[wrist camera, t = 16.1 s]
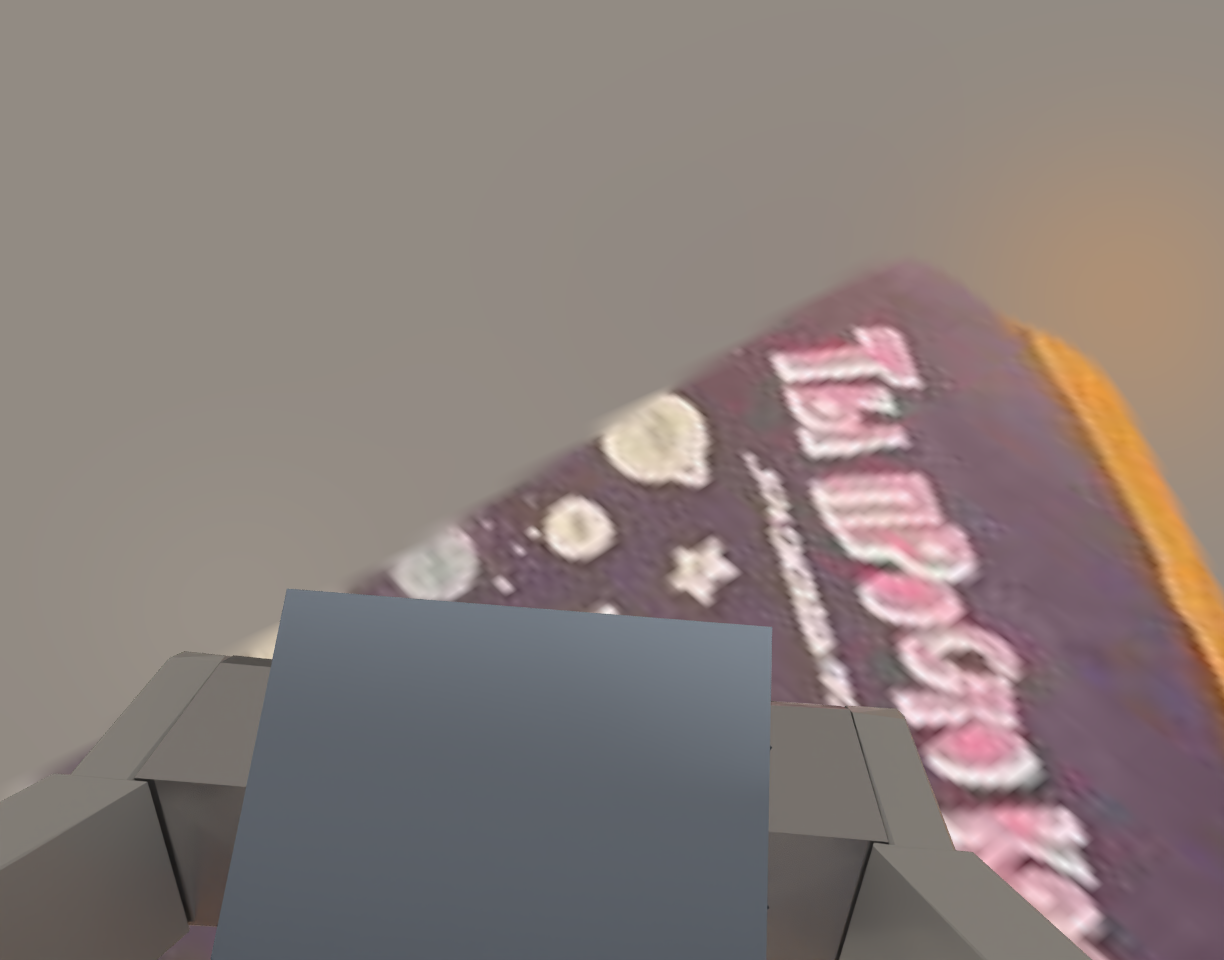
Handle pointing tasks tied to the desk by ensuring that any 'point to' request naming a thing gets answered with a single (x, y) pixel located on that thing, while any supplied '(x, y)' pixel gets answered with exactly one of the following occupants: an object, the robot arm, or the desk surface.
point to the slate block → (503, 787)
